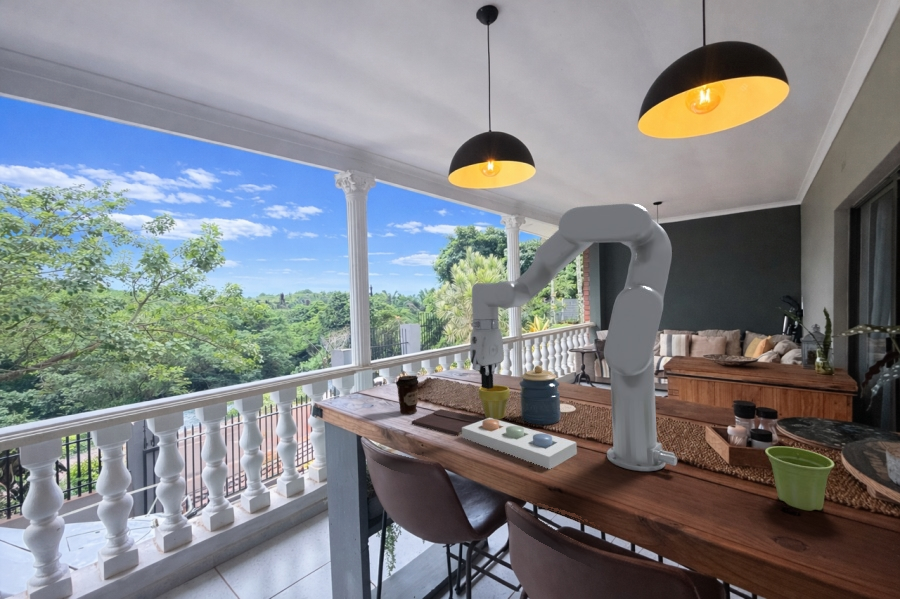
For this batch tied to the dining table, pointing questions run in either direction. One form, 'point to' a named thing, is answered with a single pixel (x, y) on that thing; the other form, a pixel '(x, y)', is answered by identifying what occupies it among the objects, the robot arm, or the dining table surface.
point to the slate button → (542, 440)
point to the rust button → (490, 424)
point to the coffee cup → (407, 394)
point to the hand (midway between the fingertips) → (487, 387)
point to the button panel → (521, 444)
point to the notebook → (447, 421)
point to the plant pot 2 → (800, 476)
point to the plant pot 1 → (494, 401)
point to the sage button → (515, 432)
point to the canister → (540, 397)
